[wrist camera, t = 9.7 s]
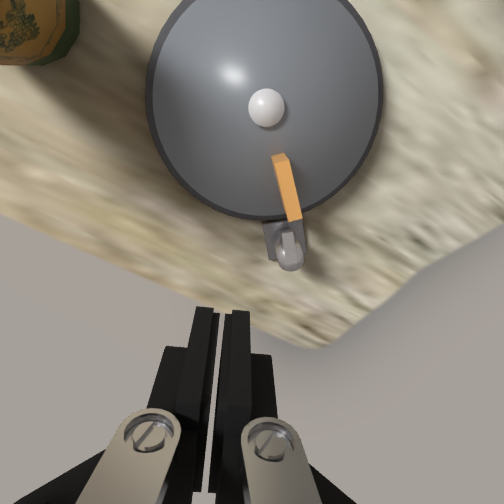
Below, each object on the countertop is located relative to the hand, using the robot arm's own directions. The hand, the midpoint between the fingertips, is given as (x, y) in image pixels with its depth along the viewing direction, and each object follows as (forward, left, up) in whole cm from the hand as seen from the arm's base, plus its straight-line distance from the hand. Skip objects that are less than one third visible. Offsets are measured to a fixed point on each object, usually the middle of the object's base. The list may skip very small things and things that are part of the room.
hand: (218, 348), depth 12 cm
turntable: (-4, -6, -26) cm, 27 cm away
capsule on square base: (-4, +7, -28) cm, 29 cm away
